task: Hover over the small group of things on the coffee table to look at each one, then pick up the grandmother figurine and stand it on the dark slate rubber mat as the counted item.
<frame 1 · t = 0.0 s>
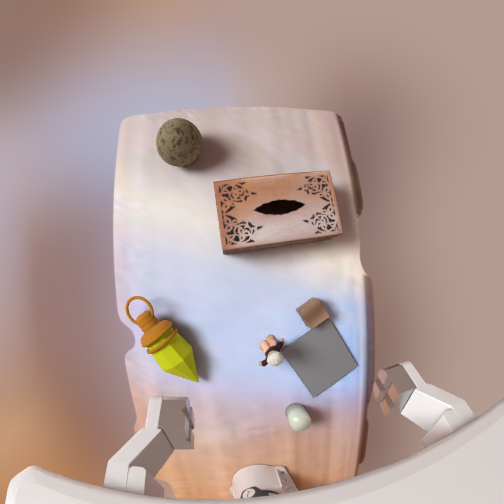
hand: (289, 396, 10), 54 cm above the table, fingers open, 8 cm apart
grandmother figurine: (266, 345, 64), on the table
plumb bob: (168, 338, 62), on the table
tissue box cover: (272, 217, 67), on the table
slate mat: (320, 358, 64), on the table
walnut block: (309, 311, 65), on the table
decorative egg: (183, 155, 66), on the table
sage green capsule: (294, 411, 62), on the table
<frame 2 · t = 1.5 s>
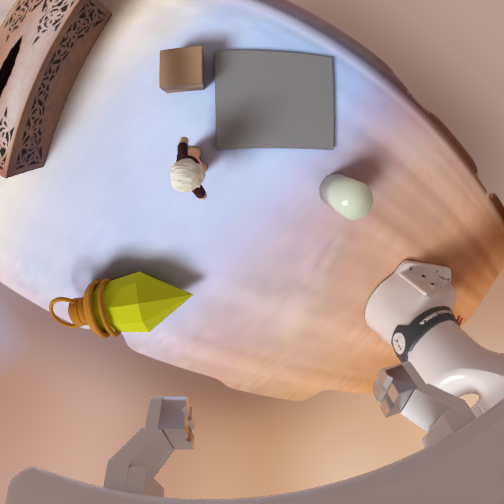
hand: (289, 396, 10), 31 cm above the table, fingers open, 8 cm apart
grandmother figurine: (195, 165, 36), on the table
plumb bob: (123, 291, 42), on the table
tissue box cover: (42, 80, 26), on the table
slate mat: (275, 98, 33), on the table
walnut block: (185, 74, 30), on the table
sage green capsule: (335, 190, 39), on the table
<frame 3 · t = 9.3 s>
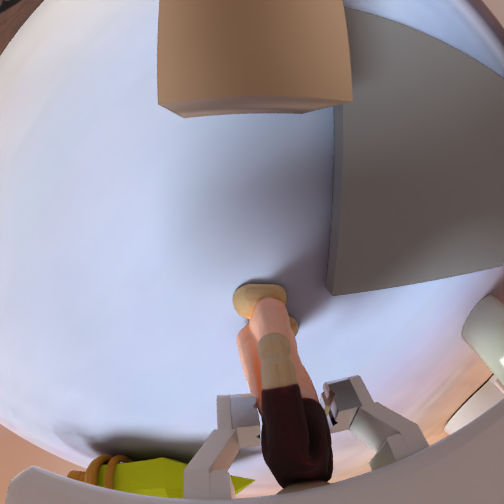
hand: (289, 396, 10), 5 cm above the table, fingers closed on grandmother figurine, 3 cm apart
grandmother figurine: (268, 320, 15), on the table, touching gripper
plumb bob: (138, 458, 21), on the table
slate mat: (452, 162, 12), on the table
walnut block: (241, 60, 10), on the table
sage green capsule: (479, 318, 18), on the table
when the fingers open (8 cm above the table, at t = 15.3 s): grandmother figurine drops 1 cm, resting on slate mat.
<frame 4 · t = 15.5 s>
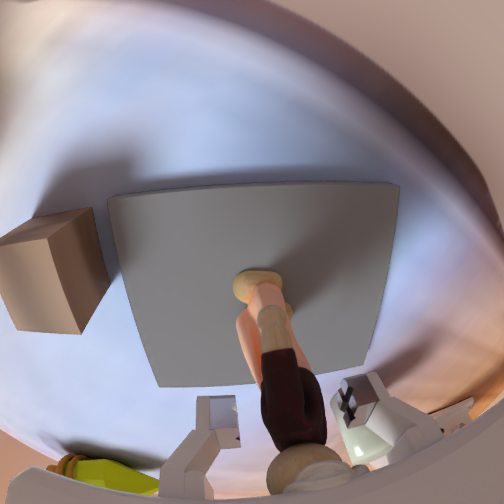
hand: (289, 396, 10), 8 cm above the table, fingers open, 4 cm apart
grandmother figurine: (265, 306, 16), point 1 cm above the table, touching slate mat
plumb bob: (95, 458, 26), on the table
slate mat: (262, 297, 17), on the table
walnut block: (68, 250, 14), on the table
sage green capsule: (353, 395, 23), on the table
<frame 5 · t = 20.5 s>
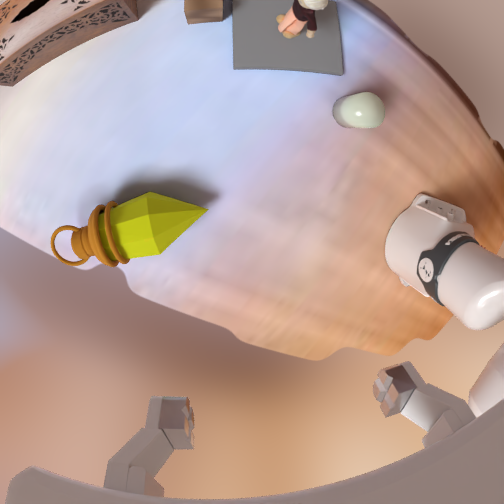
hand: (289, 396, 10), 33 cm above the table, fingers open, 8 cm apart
grandmother figurine: (288, 29, 30), point 1 cm above the table, touching slate mat
plumb bob: (132, 221, 40), on the table
tissue box cover: (66, 21, 24), on the table
slate mat: (287, 30, 30), on the table
walnut block: (205, 10, 28), on the table
sage green capsule: (347, 112, 36), on the table
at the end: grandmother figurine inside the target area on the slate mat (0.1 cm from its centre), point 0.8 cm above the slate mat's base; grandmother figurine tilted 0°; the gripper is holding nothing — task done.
